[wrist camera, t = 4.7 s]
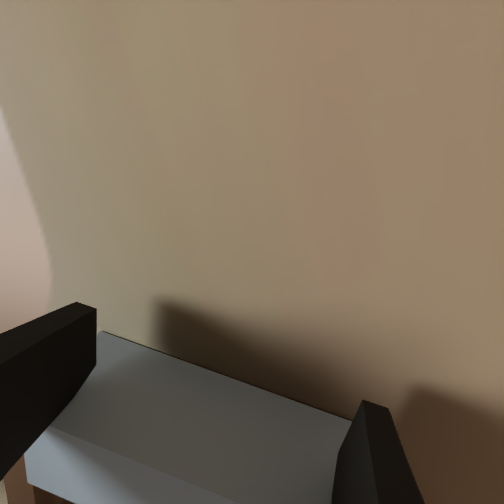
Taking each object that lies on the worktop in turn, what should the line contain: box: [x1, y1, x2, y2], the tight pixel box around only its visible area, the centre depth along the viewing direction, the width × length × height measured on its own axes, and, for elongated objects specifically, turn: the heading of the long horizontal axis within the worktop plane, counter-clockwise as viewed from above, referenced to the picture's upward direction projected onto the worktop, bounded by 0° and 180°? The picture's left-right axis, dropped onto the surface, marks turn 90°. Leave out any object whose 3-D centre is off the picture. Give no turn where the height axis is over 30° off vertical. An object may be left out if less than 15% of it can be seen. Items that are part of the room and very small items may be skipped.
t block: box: [24, 331, 352, 504], centre depth 13 cm, size 9×8×4 cm
